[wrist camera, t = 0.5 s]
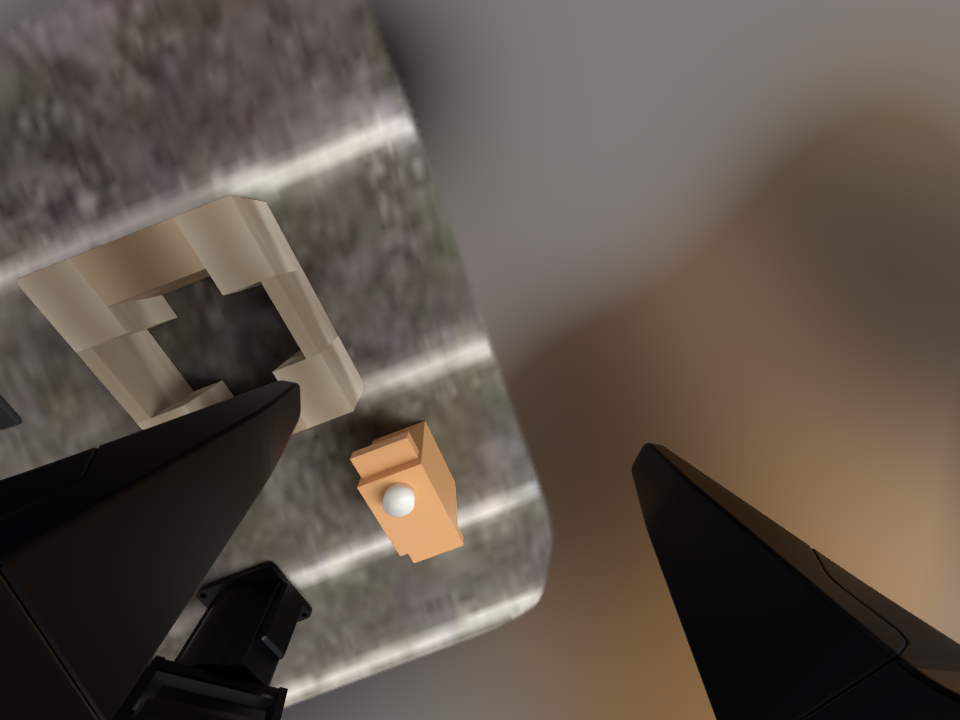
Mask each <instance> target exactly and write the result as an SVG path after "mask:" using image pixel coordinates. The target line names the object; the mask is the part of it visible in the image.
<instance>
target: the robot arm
mask: <svg viewBox="0 0 960 720" xmlns="http://www.w3.org/2000/svg"><path fill="white" fill-rule="evenodd" d="M300 413H301V395H300V386H299V384H298V383H295V382H290V381H284V380H280V381H277V382H274V383H271V384H268V385H266V386H263V387H260V388H257V389H255V390H252V391H249V392H246V393H244V394H241V395H238V396H235V397H233V398H230V399H227V400H224V401H222V402H219V403H216V404H213V405H211V406H208V407H205V408H202V409H199V410H197V411H194V412H191V413H188V414H186V415H183V416H180V417H177V418H175V419H172V420H169V421H166V422H164V423H161V424H158V425H155V426H152V427H150V428H147V429H144V430H141V431H139V432H136V433H133V434H130V435H128V436H125V437H122V438H119V439H117V440H114V441H111V442H108V443H106V444H103V445H100V446H99V448H98V449H97V448H91V449H89V450H86V451H83V452H81V453H78V454H75V455H72V456H70V457H67V458H64V459H61V460H58V461H55V462H53V463H50V464H47V465H44V466H41V467H38V468H35V469H32V470H30V471H27V472H24V473H21V474H18V475H15V476H12V477H9V478H6V479H3V480H0V720H280V719H281V715H282V711H283V707H284V703H285V699H286V695H287V691H288V689H286V688H282V687H280V688H275V687H271V686H269V685H270V683H271V680H272V678H273V675H274V672H275V670H276V667H277V665H278V662H279V660H280V659H282V658H283V657H284V655H285V652H286V650H287V647H288V644H289V642H290V639H291V636H292V634H293V631H294V628H295V626H296V623H297V622H299V621H302V620H304V619H307V618H309V617H310V615H311V612H312V608H311V607H310V606H309V605H308V603H307V602H306V601H305V600H304V598H303V597H302V596H301V595H300V594H299V592H298V591H297V590H296V589H295V588H294V586H293V585H292V584H291V583H290V582H289V580H288V579H287V578H286V577H285V576H284V574H283V573H282V572H281V571H280V570H279V568H278V567H277V566H276V565H275V564H273V563H266V564H264V565H261V566H258V567H255V568H253V569H250V570H247V571H245V572H242V573H239V574H236V575H234V576H231V577H228V578H226V579H223V580H220V581H217V582H215V583H212V584H209V585H207V586H204V587H202V588H200V590H199V591H198V593H197V594H196V596H197V598H198V599H199V600H200V601H201V602H202V603H203V604H204V605H205V606H206V607H207V610H206V611H205V613H204V615H203V616H202V618H201V619H200V621H199V623H198V624H197V626H196V627H195V629H194V631H193V632H192V634H191V635H190V637H189V638H188V640H187V642H186V643H185V645H184V646H183V648H182V650H181V651H180V653H179V654H178V656H177V658H176V659H175V661H170V660H166V659H165V658H166V657H162V656H158V655H157V656H156V657H155V659H154V660H153V661H152V663H151V664H150V666H149V667H148V666H147V665H148V663H149V662H150V660H151V659H152V657H153V655H154V654H155V652H156V651H157V649H158V648H159V646H160V645H161V643H162V642H163V640H164V639H165V637H166V636H167V634H168V632H169V631H170V629H171V628H172V626H173V625H174V623H175V622H176V620H177V619H178V617H179V616H180V614H181V613H182V611H183V610H184V608H185V606H186V605H187V603H188V602H189V600H190V599H191V597H192V596H193V594H194V593H195V591H196V590H197V588H198V587H199V585H200V583H201V582H202V580H203V579H204V577H205V576H206V574H207V573H208V571H209V570H210V568H211V567H212V565H213V564H214V562H215V560H216V559H217V557H218V556H219V554H220V553H221V551H222V550H223V548H224V547H225V545H226V544H227V542H228V541H229V539H230V538H231V536H232V534H233V533H234V531H235V530H236V528H237V527H238V525H239V524H240V522H241V521H242V519H243V518H244V516H245V515H246V513H247V511H248V510H249V508H250V507H251V505H252V504H253V502H254V501H255V499H256V498H257V496H258V495H259V493H260V492H261V490H262V488H263V487H264V485H265V484H266V482H267V481H268V479H269V477H270V476H271V474H272V472H273V470H274V468H275V467H276V465H277V463H278V461H279V459H280V457H281V455H282V453H283V451H284V449H285V447H286V445H287V443H288V441H289V439H290V437H291V435H292V433H293V431H294V429H295V427H296V425H297V423H298V420H299V418H300ZM632 476H633V480H634V484H635V487H636V491H637V495H638V499H639V503H640V507H641V511H642V514H643V518H644V522H645V525H646V528H647V531H648V534H649V537H650V540H651V543H652V545H653V548H654V551H655V554H656V556H657V559H658V561H659V564H660V567H661V570H662V573H663V575H664V578H665V581H666V583H667V586H668V589H669V592H670V595H671V597H672V600H673V603H674V605H675V608H676V611H677V613H678V616H679V619H680V622H681V625H682V627H683V630H684V632H685V635H686V638H687V641H688V644H689V646H690V649H691V652H692V654H693V657H694V660H695V662H696V665H697V668H698V671H699V673H700V676H701V679H702V682H703V684H704V687H705V690H706V692H707V695H708V698H709V701H710V704H711V706H712V709H713V712H714V714H715V717H716V720H960V644H959V643H957V642H955V641H954V640H952V639H951V638H949V637H947V636H946V635H944V634H943V633H941V632H940V631H938V630H936V629H935V628H934V627H932V626H930V625H929V624H927V623H926V622H924V621H923V620H921V619H919V618H918V617H916V616H915V615H913V614H912V613H910V612H908V611H907V610H905V609H904V608H902V607H900V606H899V605H898V604H896V603H894V602H893V601H891V600H890V599H888V598H887V597H885V596H884V595H882V594H881V593H879V592H878V591H876V590H875V589H873V588H871V587H870V586H868V585H867V584H865V583H864V582H862V581H861V580H859V579H858V578H856V577H855V576H853V575H852V574H850V573H849V572H847V571H846V570H844V569H843V568H841V567H840V566H838V565H837V564H836V563H834V562H833V561H831V560H830V559H828V558H826V557H825V556H824V555H822V554H821V553H819V552H818V551H816V550H815V549H811V548H810V546H809V545H808V544H806V543H805V542H803V541H802V540H800V539H799V538H797V537H796V536H794V535H793V534H792V533H790V532H789V531H787V530H785V529H784V528H783V527H781V526H780V525H778V524H777V523H776V522H774V521H773V520H771V519H770V518H768V517H767V516H765V515H764V514H762V513H761V512H759V511H758V510H757V509H755V508H754V507H752V506H751V505H749V504H748V503H746V502H745V501H743V500H742V499H740V498H739V497H738V496H736V495H735V494H733V493H732V492H730V491H729V490H727V489H726V488H724V487H723V486H721V485H720V484H718V483H717V482H715V481H714V480H713V479H711V478H710V477H708V476H707V475H705V474H704V473H702V472H701V471H700V470H698V469H697V468H695V467H694V466H692V465H691V464H689V463H688V462H686V461H685V460H684V459H682V458H681V457H679V456H678V455H676V454H675V453H673V452H672V451H670V450H669V449H667V448H666V447H665V446H663V445H660V444H654V443H646V444H644V445H643V447H642V449H641V451H640V452H639V454H638V456H637V458H636V459H635V461H634V463H633V465H632Z"/></svg>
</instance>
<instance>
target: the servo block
mask: <svg viewBox="0 0 960 720" xmlns="http://www.w3.org/2000/svg"><path fill="white" fill-rule="evenodd" d="M350 460H351V462H352V463H353V465H354V466H355V468H356V470H357V471H358V473H359V475H360V476H361V478H360V481H359V484H358V487H357V488H358V490H359V491H360V493H361V494H362V496H363V498H364V499H365V501H366V502H367V504H368V506H369V507H370V509H371V510H372V512H373V514H374V515H375V517H376V518H377V520H378V521H379V523H380V525H381V526H382V528H383V529H384V531H385V533H386V534H387V536H388V537H389V539H390V541H391V542H392V544H393V545H394V547H395V548H396V550H397V552H398V553H399V555H400V556H403V555H405V554H409V556H410V557H411V559H412V561H413V562H414V563H416V562H419V561H422V560H424V559H427V558H430V557H433V556H435V555H438V554H441V553H444V552H446V551H449V550H452V549H455V548H457V547H460V546H463V545H464V543H463V536H462V534H461V532H460V530H459V528H458V521H457V503H456V485H455V481H454V479H453V477H452V475H451V473H450V471H449V469H448V467H447V465H446V463H445V461H444V459H443V457H442V455H441V453H440V451H439V449H438V447H437V444H436V442H435V440H434V438H433V436H432V434H431V432H430V430H429V428H428V426H427V424H426V422H425V421H423V422H420V423H418V424H415V425H412V426H410V427H407V428H404V429H402V430H399V431H396V432H394V433H391V434H388V435H386V436H383V437H380V438H378V439H375V440H373V442H372V445H370V446H367V447H365V448H362V449H359V450H357V451H354V452H353V453H352V455H351V458H350Z"/></svg>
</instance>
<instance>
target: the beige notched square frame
mask: <svg viewBox="0 0 960 720" xmlns="http://www.w3.org/2000/svg"><path fill="white" fill-rule="evenodd" d="M210 276H211V278H212V279H213V281H214V282H215V284H216V285H217V287H218V289H219V290H220V292H221V293H222V295H223V296H224V295H227V294H231V293H235V292H238V291H242V290H246V289H249V288H253V287H257V286H260V285H263V287H264V288H265V290H266V292H267V293H268V295H269V297H270V299H271V300H272V302H273V304H274V305H275V307H276V309H277V310H278V312H279V314H280V315H281V317H282V319H283V320H284V322H285V324H286V326H287V327H288V329H289V331H290V332H291V334H292V336H293V337H294V339H295V341H296V342H297V344H298V346H299V347H300V349H301V350H300V351H298V352H296V353H295V354H294V355H293V356H291V357H290V358H289V359H288V360H287V361H285V362H284V363H283V364H282V365H280V366H279V367H278V368H277V369H275V370H274V371H273V372H272V373H273V374H274V376H275V377H276V379H277V380H278V381H280V380H284V381H290V382H295V383H298V384H299V386H300V395H301V413H300V418H299V420H298V423H297V425H296V427H295V429H294V431H293V433H292V434H295V433H297V432H300V431H303V430H305V429H308V428H310V427H313V426H316V425H318V424H321V423H324V422H326V421H329V420H332V419H334V418H337V417H340V416H342V415H345V414H348V413H350V412H353V411H354V409H355V407H356V405H357V403H358V401H359V399H360V397H361V395H362V393H363V391H364V389H365V387H366V386H365V385H364V383H363V381H362V379H361V377H360V375H359V373H358V372H357V370H356V368H355V366H354V364H353V362H352V360H351V359H350V357H349V355H348V353H347V351H346V349H345V347H344V346H343V344H342V342H341V340H340V338H339V336H338V334H337V333H336V331H335V329H334V327H333V325H332V323H331V322H330V320H329V318H328V316H327V314H326V312H325V310H324V309H323V307H322V305H321V303H320V301H319V299H318V297H317V296H316V294H315V292H314V290H313V288H312V286H311V284H310V283H309V281H308V279H307V277H306V275H305V273H304V271H303V270H302V268H301V266H300V264H299V262H298V260H297V259H296V257H295V255H294V253H293V251H292V249H291V247H290V246H289V244H288V242H287V240H286V238H285V236H284V234H283V233H282V231H281V229H280V227H279V225H278V223H277V221H276V220H275V218H274V216H273V214H272V212H271V210H270V208H269V207H268V205H267V203H266V202H262V201H257V200H252V199H247V198H241V197H236V196H231V195H228V196H226V197H223V198H221V199H218V200H216V201H213V202H211V203H208V204H206V205H203V206H201V207H198V208H195V209H193V210H190V211H188V212H185V213H183V214H180V215H178V216H175V217H173V218H170V219H168V220H165V221H163V222H160V223H158V224H155V225H152V226H150V227H147V228H145V229H142V230H140V231H137V232H135V233H132V234H130V235H127V236H125V237H122V238H120V239H117V240H114V241H112V242H109V243H107V244H104V245H102V246H99V247H97V248H94V249H92V250H89V251H87V252H84V253H82V254H79V255H77V256H74V257H71V258H69V259H66V260H64V261H61V262H59V263H56V264H54V265H51V266H49V267H46V268H44V269H41V270H39V271H36V272H34V273H31V274H28V275H26V276H23V277H21V278H18V279H16V280H14V281H15V282H16V283H17V284H18V285H19V287H20V288H21V289H22V290H23V291H24V292H25V294H26V295H27V296H28V297H29V298H30V299H31V301H32V302H33V303H34V304H35V305H36V306H37V308H38V309H39V310H40V311H41V312H42V313H43V315H44V316H45V317H46V318H47V319H48V320H49V322H50V323H51V324H52V325H53V326H54V327H55V329H56V330H57V331H58V332H59V333H60V334H61V336H62V337H63V338H64V339H65V340H66V341H67V343H68V344H69V345H70V346H71V347H72V348H73V350H74V351H75V352H76V353H77V354H78V355H79V356H80V358H81V359H82V360H83V361H84V362H85V363H86V365H87V366H88V367H89V368H90V369H91V370H92V372H93V373H94V374H95V375H96V376H97V377H98V379H99V380H100V381H101V382H102V383H103V384H104V386H105V387H106V388H107V389H108V390H109V391H110V393H111V394H112V395H113V396H114V397H115V398H116V400H117V401H118V402H119V403H120V404H121V405H122V407H123V408H124V409H125V410H126V411H127V412H128V414H129V415H130V416H131V417H132V418H133V419H134V421H135V422H136V423H137V424H138V425H139V426H140V427H141V429H142V430H144V429H147V428H150V427H152V426H155V425H158V424H161V423H164V422H166V421H169V420H172V419H175V418H177V417H180V416H183V415H186V414H188V413H191V412H194V411H197V410H199V409H202V408H205V407H208V406H211V405H213V404H216V403H219V402H222V401H224V400H227V399H230V398H233V397H234V396H233V394H232V393H231V391H230V390H229V389H228V387H227V386H226V384H225V383H224V382H223V380H222V381H219V382H217V383H214V384H212V385H209V386H206V387H204V388H201V389H198V390H196V391H193V389H192V388H191V387H190V385H189V384H188V383H187V381H186V380H185V379H184V377H183V376H182V375H181V373H180V372H179V371H178V370H177V368H176V367H175V366H174V364H173V363H172V362H171V360H170V359H169V358H168V356H167V355H166V354H165V352H164V351H163V350H162V348H161V347H160V346H159V344H158V343H157V342H156V340H155V339H154V338H153V336H152V335H151V334H150V332H149V331H148V330H147V329H149V328H152V327H154V326H157V325H159V324H162V323H164V322H167V321H170V320H172V319H175V318H177V315H176V314H175V313H174V311H173V310H172V308H171V307H170V306H169V304H168V303H167V301H166V300H165V298H164V297H163V296H162V295H164V294H166V293H169V292H172V291H174V290H177V289H179V288H182V287H184V286H187V285H190V284H192V283H195V282H197V281H200V280H202V279H205V278H207V277H210Z"/></svg>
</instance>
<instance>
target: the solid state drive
mask: <svg viewBox="0 0 960 720" xmlns="http://www.w3.org/2000/svg"><path fill="white" fill-rule="evenodd" d="M21 422H22V419H21V418H20V416H19V415H18V414H17V413H16V412H14V410H13V408H12V407H10V405H9V404H8V403H7V402H6V401H5V399H4V398H3V397H2V396H1V395H0V430H3V429H6V428H10V427H13V426H16V425H18V424H20V423H21Z"/></svg>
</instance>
